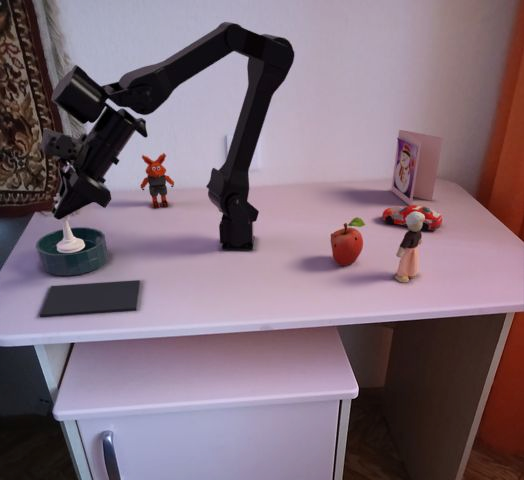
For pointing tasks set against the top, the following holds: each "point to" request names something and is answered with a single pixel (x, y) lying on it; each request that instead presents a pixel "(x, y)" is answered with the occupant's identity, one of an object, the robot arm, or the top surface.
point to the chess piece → (68, 235)
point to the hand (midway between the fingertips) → (55, 216)
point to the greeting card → (416, 165)
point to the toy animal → (156, 180)
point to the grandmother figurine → (410, 247)
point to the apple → (347, 243)
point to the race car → (400, 213)
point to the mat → (91, 298)
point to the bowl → (76, 261)
